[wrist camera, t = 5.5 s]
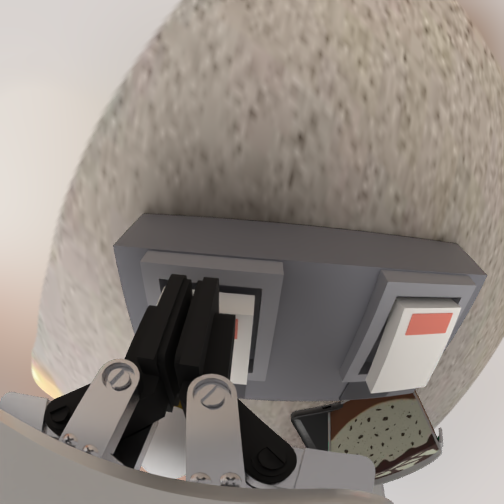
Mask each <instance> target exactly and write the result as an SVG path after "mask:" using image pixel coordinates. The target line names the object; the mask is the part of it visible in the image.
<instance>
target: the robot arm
mask: <svg viewBox="0 0 504 504" xmlns="http://www.w3.org/2000/svg"><path fill="white" fill-rule="evenodd" d="M235 322H236V315H233V314H222V313H219V278H212V277H204V278H203V281H202V280H198V282H197V285H196V288H195V291H194V294H193V292H192V281H191V279H187V276H186V275H180V274H171V276H170V278H169V280H168V282H167V284H166V286H165V289H164V291H163V293H162V295H161V298H160V300H159V302H158V305H157V306H153V305H149V306H148V307H147V309H146V311H145V313H144V316H143V318H142V320H141V322H140V324H139V327H138V329H137V331H136V333H135V336H134V338H133V340H132V343H131V345H130V347H129V350H128V352H127V354H126V357H125V359H114V360H111V361H109V362H107V363H105V364H104V365H103V366H102V367H101V368H100V370H99V371H98V373H97V375H96V376H95V378H94V380H93V381H92V383H90V384H88V385H86V386H84V387H82V388H79V389H77V390H75V391H72V392H70V393H68V394H66V395H63V396H61V397H59V398H56V399H54V400H53V401H49V400H48V399H47V398H42V397H36V396H30V395H25V394H20V393H15V392H9V393H6V394H5V395H4V396H3V397H2V398H1V400H0V504H393V502H392V501H390V500H389V499H387V498H385V495H384V487H383V484H380V485H377V486H374V480H375V466H374V464H373V462H372V460H370V459H369V458H368V457H366V456H362V455H355V454H345V453H337V452H330V451H323V450H316V449H310V448H305V449H300V448H295V447H291V446H290V445H289V444H288V443H287V442H286V441H284V440H283V439H282V438H281V437H280V436H279V435H277V434H276V433H275V432H274V431H273V430H272V429H270V428H269V427H268V426H267V425H266V424H265V423H264V422H263V421H261V420H260V419H259V418H258V417H257V416H256V415H255V414H254V413H253V412H252V411H250V410H249V409H248V408H247V407H246V406H245V405H244V404H243V403H242V402H241V401H240V400H239V399H238V398H237V392H236V388H235V386H234V385H233V383H232V382H231V381H230V376H231V367H232V358H233V349H234V338H235ZM179 402H181V405H182V409H183V412H184V415H185V418H186V481H184V480H178V479H173V478H168V477H164V476H159V475H155V474H151V473H147V472H143V471H139V470H140V468H141V465H142V463H143V460H144V458H145V455H146V453H147V451H148V448H149V446H150V443H151V441H152V438H153V436H154V434H155V431H156V429H157V427H158V424H159V420H160V419H162V418H163V417H165V414H166V412H171V413H172V411H173V407H174V406H178V405H179ZM246 484H247V485H248V486H250V487H251V488H246Z"/></svg>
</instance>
